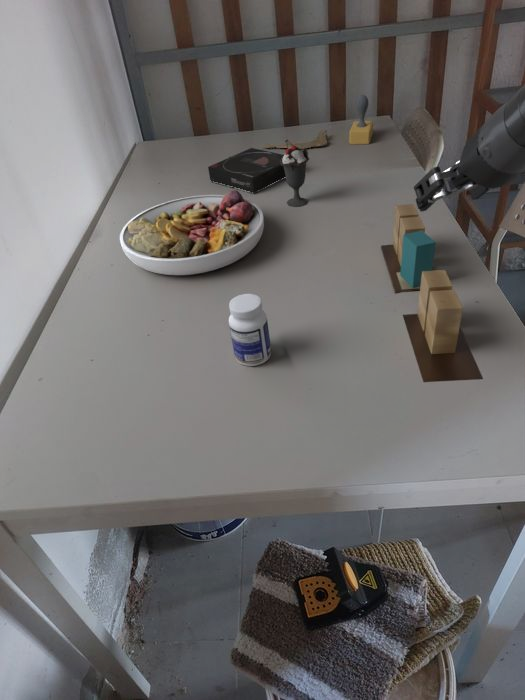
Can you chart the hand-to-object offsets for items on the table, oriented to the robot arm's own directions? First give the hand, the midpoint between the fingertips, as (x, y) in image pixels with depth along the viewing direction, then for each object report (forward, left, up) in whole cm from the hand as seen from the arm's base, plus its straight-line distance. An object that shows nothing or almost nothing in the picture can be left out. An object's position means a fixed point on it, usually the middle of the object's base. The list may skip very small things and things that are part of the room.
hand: (446, 199), depth 77 cm
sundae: (+22, -43, -17) cm, 51 cm away
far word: (+2, -9, -17) cm, 19 cm away
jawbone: (+21, -86, -17) cm, 90 cm away
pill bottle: (+30, +13, -17) cm, 37 cm away
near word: (+2, +14, -17) cm, 22 cm away
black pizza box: (+33, -62, -17) cm, 72 cm away
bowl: (+44, -25, -17) cm, 54 cm away
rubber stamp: (+2, -85, -17) cm, 86 cm away
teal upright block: (+2, -4, -16) cm, 17 cm away
